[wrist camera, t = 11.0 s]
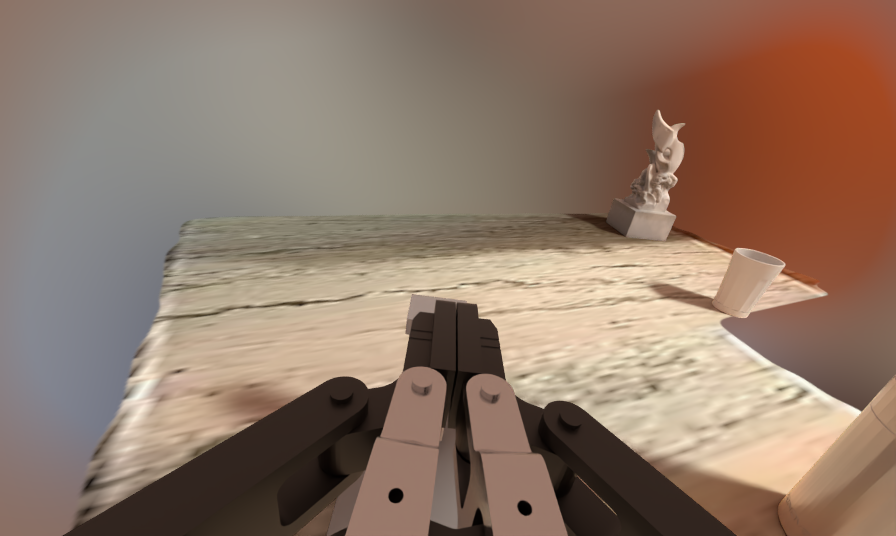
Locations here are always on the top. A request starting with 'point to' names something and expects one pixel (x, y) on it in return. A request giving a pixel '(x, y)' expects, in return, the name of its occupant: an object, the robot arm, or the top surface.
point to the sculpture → (651, 189)
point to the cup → (746, 281)
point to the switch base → (442, 496)
